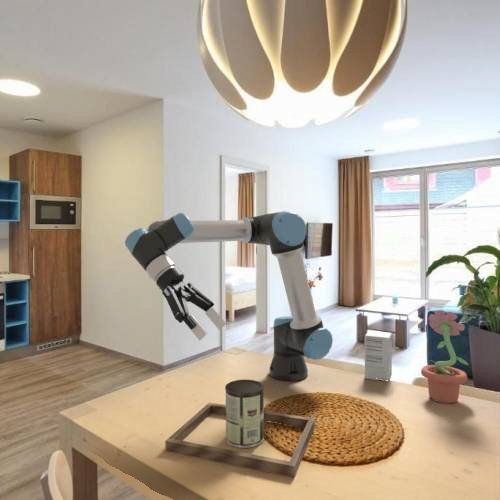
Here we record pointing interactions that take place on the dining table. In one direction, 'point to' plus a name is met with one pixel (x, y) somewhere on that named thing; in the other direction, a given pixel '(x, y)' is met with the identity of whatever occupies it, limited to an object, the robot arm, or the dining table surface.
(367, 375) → the supplement box
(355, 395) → the dining table surface
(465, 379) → the decorative flower
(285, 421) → the walnut frame
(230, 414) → the coffee can
